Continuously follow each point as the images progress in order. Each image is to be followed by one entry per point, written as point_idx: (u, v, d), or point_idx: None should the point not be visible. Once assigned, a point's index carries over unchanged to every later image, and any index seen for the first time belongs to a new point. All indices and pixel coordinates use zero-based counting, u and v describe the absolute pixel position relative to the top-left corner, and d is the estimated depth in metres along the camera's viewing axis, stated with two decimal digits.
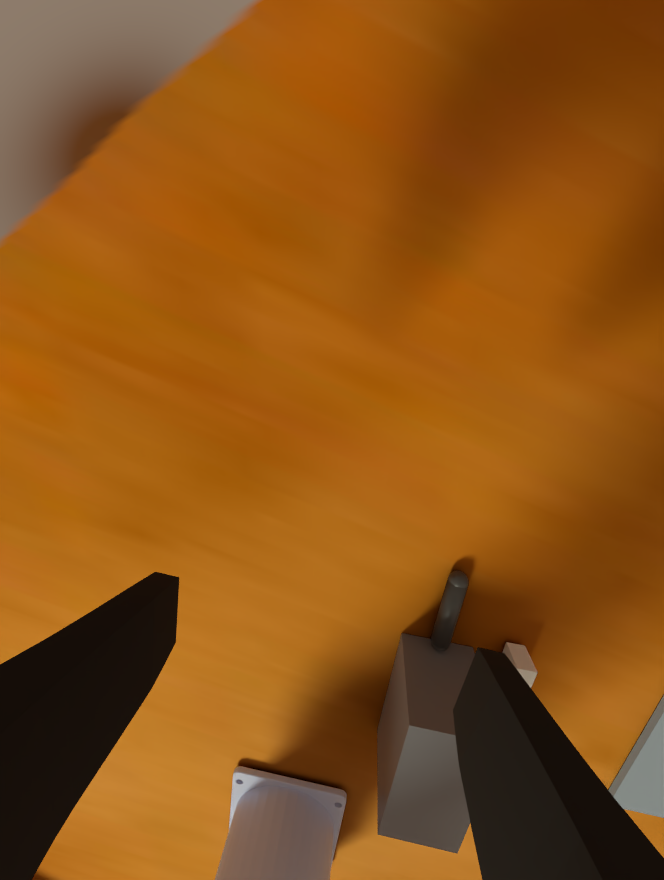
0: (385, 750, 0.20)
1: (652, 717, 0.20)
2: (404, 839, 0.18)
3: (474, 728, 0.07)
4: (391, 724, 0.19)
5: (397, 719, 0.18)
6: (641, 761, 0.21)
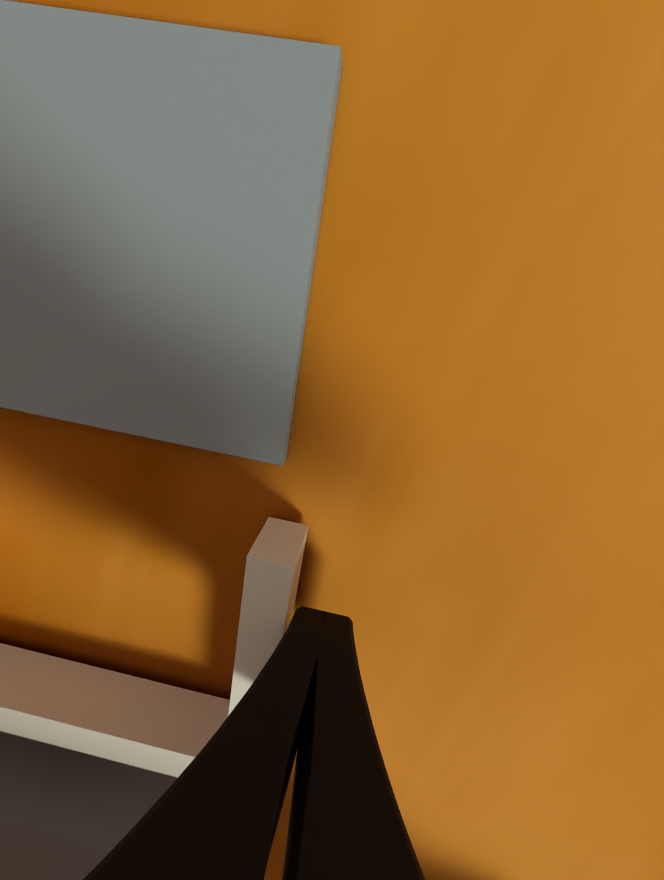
0: None
1: None
2: None
3: None
4: None
5: None
6: (107, 415, 0.08)
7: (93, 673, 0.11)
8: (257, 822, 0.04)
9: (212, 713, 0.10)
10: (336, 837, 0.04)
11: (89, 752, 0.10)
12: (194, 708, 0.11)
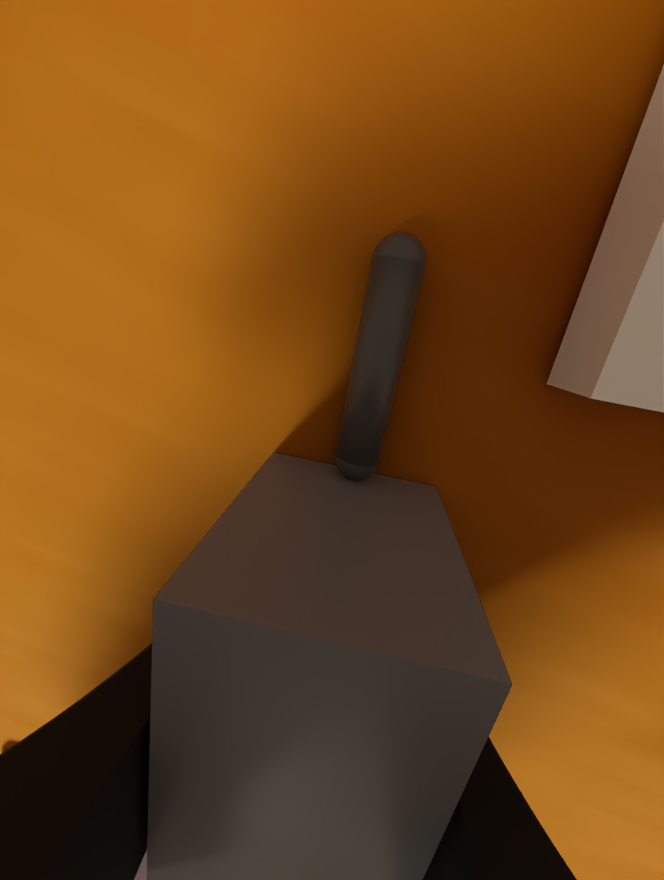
0: None
1: None
2: None
3: None
4: None
5: None
6: None
7: None
8: (91, 776, 0.04)
9: None
10: None
11: None
12: None
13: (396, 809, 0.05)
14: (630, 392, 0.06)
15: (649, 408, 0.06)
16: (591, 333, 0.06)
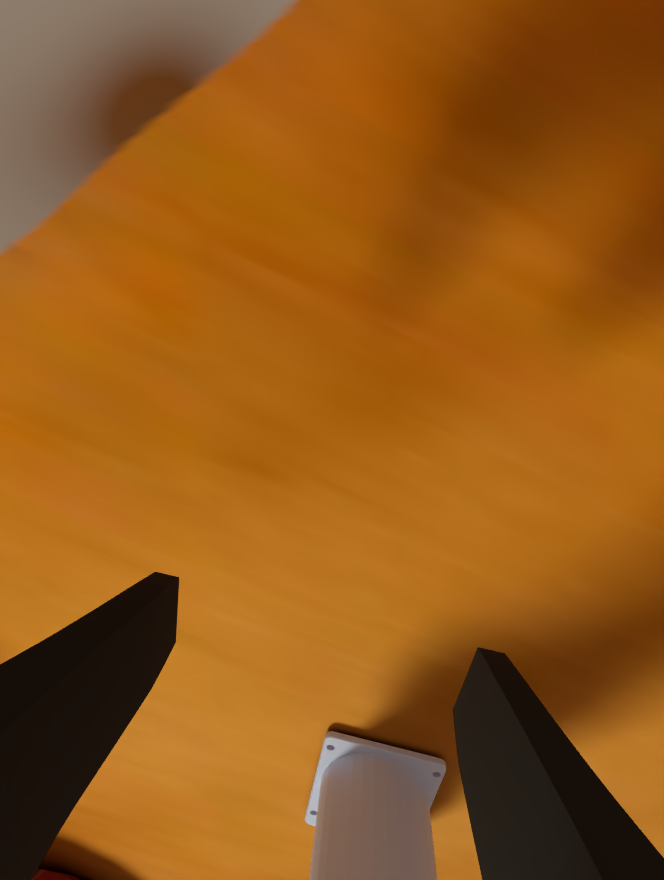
0: None
1: None
2: None
3: (474, 728, 0.07)
4: None
5: None
6: None
7: None
8: None
9: None
10: None
11: None
12: None
13: None
14: None
15: None
16: None
